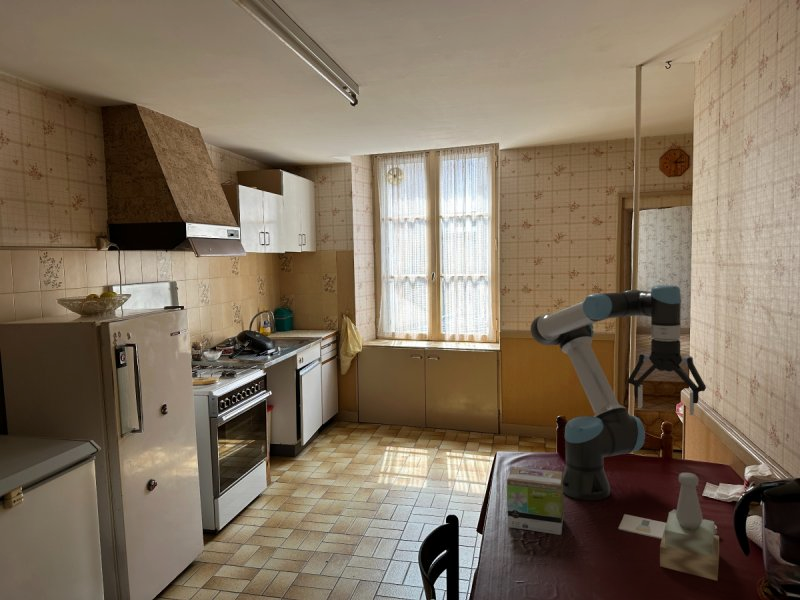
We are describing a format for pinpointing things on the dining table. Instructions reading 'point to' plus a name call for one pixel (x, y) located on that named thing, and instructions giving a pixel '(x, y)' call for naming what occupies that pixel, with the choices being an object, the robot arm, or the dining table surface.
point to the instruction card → (642, 526)
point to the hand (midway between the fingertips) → (665, 410)
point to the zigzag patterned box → (690, 548)
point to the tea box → (535, 500)
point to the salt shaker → (689, 502)
